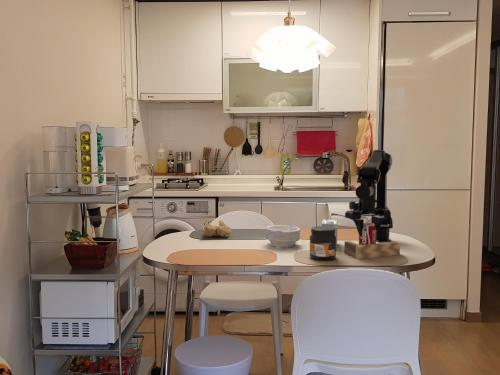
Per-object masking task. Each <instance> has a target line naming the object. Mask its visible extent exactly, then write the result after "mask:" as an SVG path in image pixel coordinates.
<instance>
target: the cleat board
mask: <svg viewBox="0 0 500 375" xmlns="http://www.w3.org/2000/svg"><path fill="white" fill-rule="evenodd" d="M343 250H344V254H345V255H348V256H349V257H353V258H355V259H357V260H362V259H371V258H372V259H373V258H381V257H389V256H398V255H400V254H401V242H400V241H386V242H378V243H377V242H376V244H367V245H359V243H358V244H357V243H355V242H352V241H351V240H350V241H349V240H348V241H344V249H343Z"/></svg>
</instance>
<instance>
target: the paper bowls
mask: <svg viewBox="0 0 500 375" xmlns="http://www.w3.org/2000/svg"><path fill="white" fill-rule="evenodd" d="M300 238H301V229H300V228H299V227H297V226H294V225H293V226H292V225H286V224H285V225H282V224H276V225H268V226H266V228H265V239H266V240H268V241H269V243H270V245H271V246H273V247H275V248H291V247H294V246H295V244H297V243H296V242H298V241H300V240H301V239H300Z"/></svg>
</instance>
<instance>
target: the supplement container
mask: <svg viewBox="0 0 500 375" xmlns="http://www.w3.org/2000/svg"><path fill="white" fill-rule="evenodd" d="M310 233H311V234H310V235H309V257H310V258H311V260H315V261H320V260H321V261H325V262H328V261H333V260H334V259H336V258H337V248H336V239H337V240H338V236H337V237H336V236H335V228H333V227H329V226H322V225H317V226H316V225H315V226H312V227H311V228H310Z"/></svg>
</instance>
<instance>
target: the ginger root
mask: <svg viewBox="0 0 500 375" xmlns="http://www.w3.org/2000/svg"><path fill="white" fill-rule="evenodd" d="M218 223H219V224H218V225H219V226H218V225H213V224H207V223H206V225H205V227H204V229H203V230H202V234H204V236H205V237H209V238H210V237H213V236H214V237H223V238H228V237H229V236H231V235H232V229H231V227H230V226H228V225H227V224H226V223H225V222H224V221H222V220H219V222H218Z"/></svg>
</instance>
